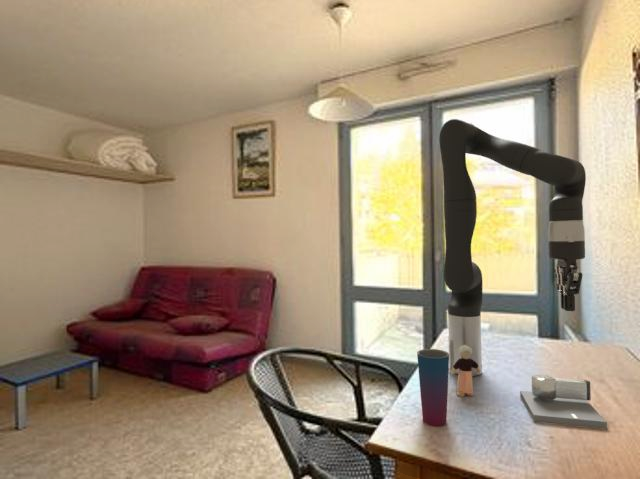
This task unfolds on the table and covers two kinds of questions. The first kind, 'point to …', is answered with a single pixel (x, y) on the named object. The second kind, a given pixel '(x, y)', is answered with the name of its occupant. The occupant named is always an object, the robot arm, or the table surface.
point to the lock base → (562, 411)
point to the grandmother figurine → (465, 371)
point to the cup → (433, 385)
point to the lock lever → (560, 388)
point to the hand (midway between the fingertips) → (567, 309)
